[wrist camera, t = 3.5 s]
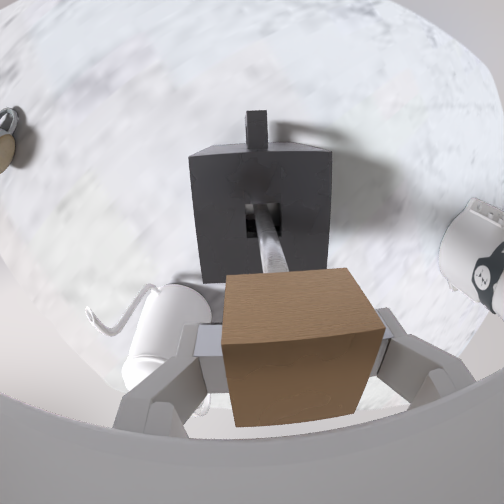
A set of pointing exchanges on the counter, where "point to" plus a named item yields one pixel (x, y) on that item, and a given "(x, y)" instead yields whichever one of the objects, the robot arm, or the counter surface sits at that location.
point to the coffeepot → (158, 330)
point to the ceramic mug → (7, 140)
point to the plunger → (294, 336)
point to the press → (260, 201)
